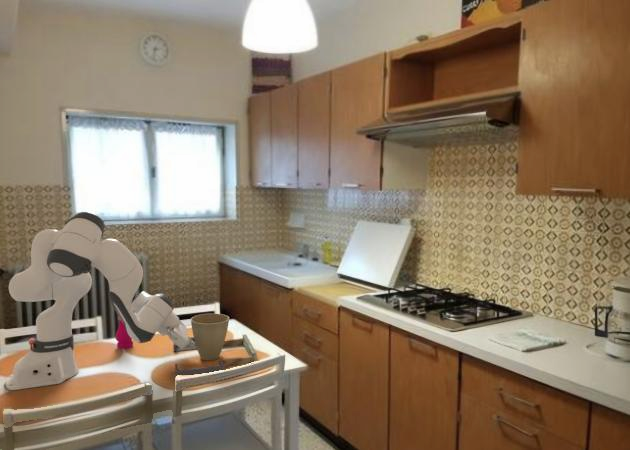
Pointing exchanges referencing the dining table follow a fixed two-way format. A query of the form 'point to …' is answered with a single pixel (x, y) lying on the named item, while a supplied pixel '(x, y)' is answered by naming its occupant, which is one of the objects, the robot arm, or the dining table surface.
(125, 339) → the pepper mill
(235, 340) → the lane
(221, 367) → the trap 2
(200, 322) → the plant pot
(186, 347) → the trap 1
